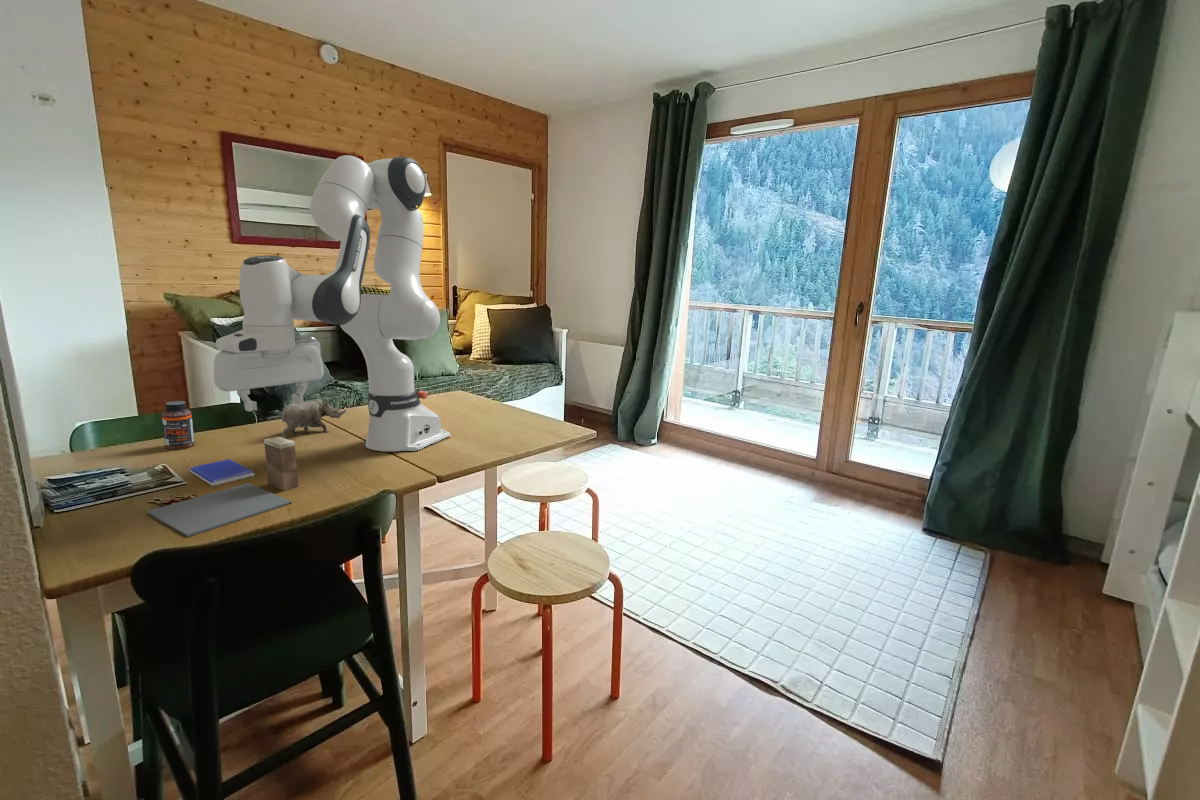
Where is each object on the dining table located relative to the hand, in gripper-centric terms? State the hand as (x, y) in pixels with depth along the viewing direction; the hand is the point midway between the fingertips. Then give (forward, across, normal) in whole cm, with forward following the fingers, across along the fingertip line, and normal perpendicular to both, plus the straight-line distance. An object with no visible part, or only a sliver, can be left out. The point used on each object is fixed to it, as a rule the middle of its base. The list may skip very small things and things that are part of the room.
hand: (275, 406), depth 116 cm
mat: (+18, +12, +2) cm, 22 cm away
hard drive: (+18, +4, -17) cm, 25 cm away
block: (+17, 0, 0) cm, 17 cm away
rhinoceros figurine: (+17, -26, -32) cm, 45 cm away
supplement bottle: (+17, +1, -44) cm, 47 cm away
